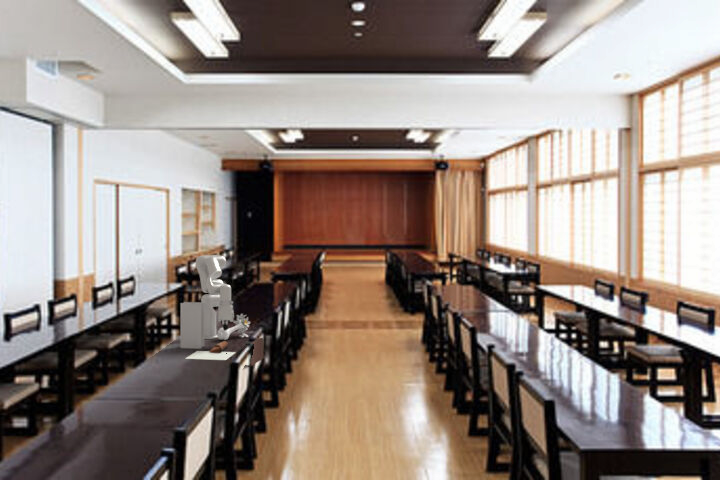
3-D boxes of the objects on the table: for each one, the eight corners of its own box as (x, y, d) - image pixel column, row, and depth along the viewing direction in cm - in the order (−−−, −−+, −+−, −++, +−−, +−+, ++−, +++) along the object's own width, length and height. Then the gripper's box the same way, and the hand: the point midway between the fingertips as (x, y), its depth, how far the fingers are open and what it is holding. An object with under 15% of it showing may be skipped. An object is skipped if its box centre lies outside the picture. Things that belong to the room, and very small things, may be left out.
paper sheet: (197, 351, 363) (197, 350, 363) (236, 352, 361) (236, 352, 361) (184, 358, 343) (184, 358, 343) (225, 360, 341) (225, 360, 341)
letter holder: (263, 358, 347) (263, 336, 346) (251, 366, 327) (251, 343, 327) (248, 357, 349) (248, 335, 348) (235, 365, 329) (235, 342, 329)
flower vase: (226, 350, 393) (254, 336, 410) (223, 327, 386) (251, 314, 404) (215, 344, 401) (243, 331, 418) (212, 322, 394) (240, 309, 412)
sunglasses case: (215, 345, 376) (220, 337, 375) (224, 351, 376) (229, 342, 376) (208, 352, 358) (214, 343, 358) (218, 357, 358) (223, 349, 358)
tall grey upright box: (204, 346, 375) (204, 302, 374) (201, 348, 369) (201, 303, 368) (183, 346, 376) (183, 302, 375) (180, 347, 371) (180, 303, 370)
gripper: (237, 302, 380) (238, 329, 381) (216, 302, 382) (216, 329, 382) (234, 304, 373) (234, 331, 373) (212, 303, 374) (213, 331, 375)
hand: (225, 330), depth 378 cm, fingers closed
